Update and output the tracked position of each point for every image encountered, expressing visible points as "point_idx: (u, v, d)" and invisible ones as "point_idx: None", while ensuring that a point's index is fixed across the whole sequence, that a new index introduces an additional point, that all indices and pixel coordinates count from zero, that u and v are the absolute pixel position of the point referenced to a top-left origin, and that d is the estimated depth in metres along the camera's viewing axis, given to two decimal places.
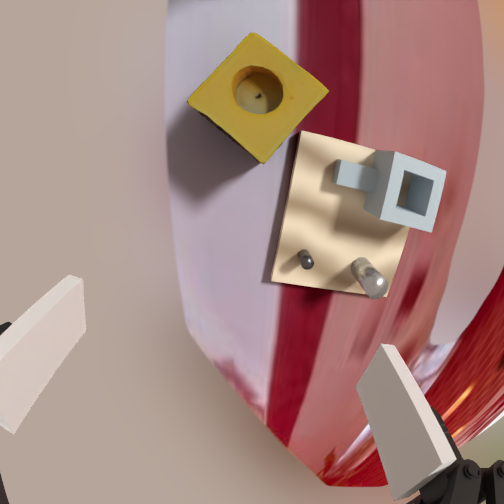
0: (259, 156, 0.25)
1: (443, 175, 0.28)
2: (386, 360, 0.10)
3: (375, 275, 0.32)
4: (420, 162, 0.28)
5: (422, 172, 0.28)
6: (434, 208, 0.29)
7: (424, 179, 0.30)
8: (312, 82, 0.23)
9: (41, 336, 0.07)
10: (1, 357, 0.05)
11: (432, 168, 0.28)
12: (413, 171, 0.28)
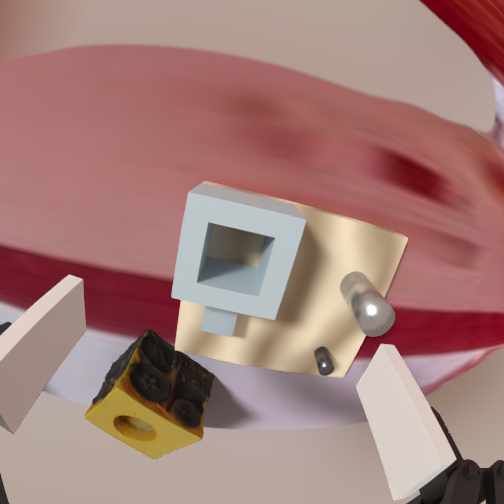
0: (195, 440, 0.23)
1: (196, 199, 0.18)
2: (386, 360, 0.10)
3: (358, 320, 0.21)
4: (180, 252, 0.20)
5: (197, 248, 0.20)
6: (260, 217, 0.19)
7: None
8: (114, 397, 0.22)
9: (41, 336, 0.07)
10: (1, 357, 0.05)
11: (187, 226, 0.19)
12: (197, 266, 0.20)
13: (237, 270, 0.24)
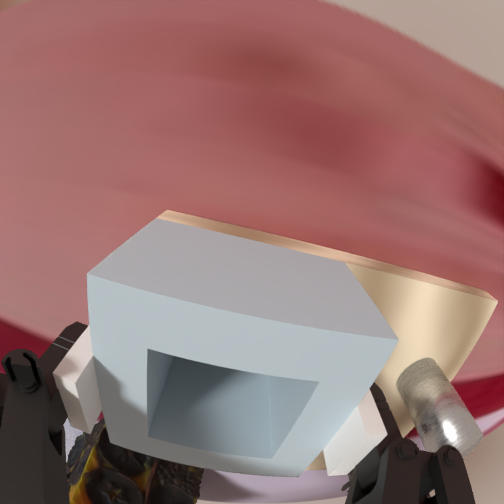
0: None
1: (109, 293, 0.06)
2: None
3: None
4: (103, 392, 0.07)
5: (134, 391, 0.07)
6: (285, 344, 0.07)
7: None
8: None
9: None
10: (89, 356, 0.07)
11: (103, 350, 0.07)
12: (142, 417, 0.08)
13: (231, 382, 0.12)
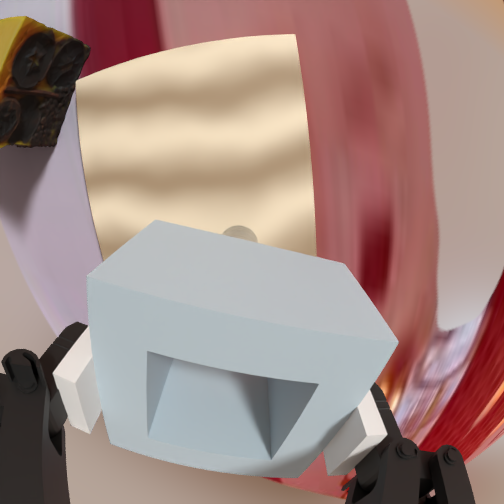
0: None
1: (109, 296, 0.06)
2: None
3: None
4: (103, 393, 0.07)
5: (134, 393, 0.07)
6: (285, 347, 0.07)
7: None
8: (9, 24, 0.08)
9: None
10: (89, 357, 0.07)
11: (103, 352, 0.07)
12: (142, 418, 0.08)
13: (230, 383, 0.12)
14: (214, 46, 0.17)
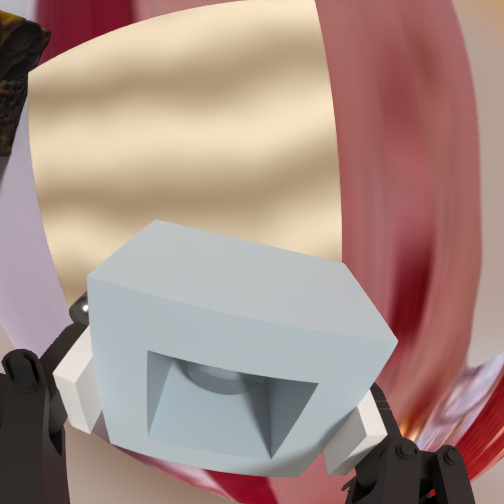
0: None
1: (109, 295, 0.06)
2: None
3: None
4: (103, 393, 0.07)
5: (134, 392, 0.07)
6: (285, 346, 0.07)
7: None
8: None
9: None
10: (89, 357, 0.07)
11: (103, 351, 0.07)
12: (142, 418, 0.08)
13: None
14: (201, 13, 0.11)
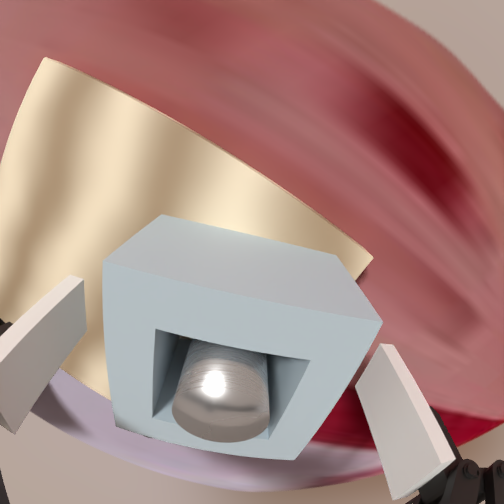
0: None
1: (122, 278, 0.07)
2: (385, 359, 0.10)
3: (175, 394, 0.08)
4: (112, 373, 0.08)
5: (141, 371, 0.08)
6: (278, 323, 0.07)
7: None
8: None
9: (42, 336, 0.07)
10: (2, 357, 0.05)
11: (114, 331, 0.08)
12: (147, 397, 0.09)
13: None
14: (7, 158, 0.11)
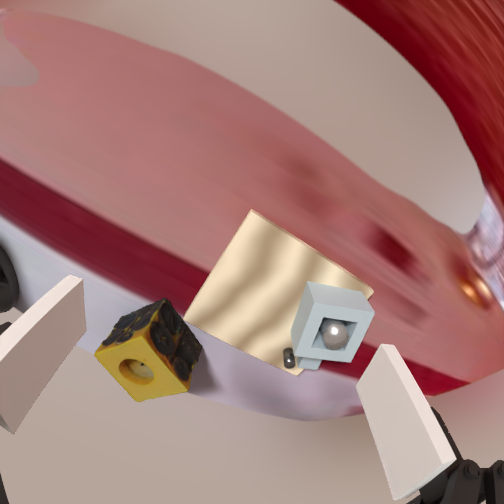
0: (182, 390, 0.33)
1: (318, 305, 0.31)
2: (386, 360, 0.10)
3: (324, 335, 0.32)
4: (304, 332, 0.33)
5: (314, 330, 0.33)
6: (351, 313, 0.32)
7: None
8: (134, 343, 0.31)
9: (41, 336, 0.07)
10: (1, 357, 0.05)
11: (311, 319, 0.32)
12: (313, 339, 0.33)
13: None
14: (228, 254, 0.36)
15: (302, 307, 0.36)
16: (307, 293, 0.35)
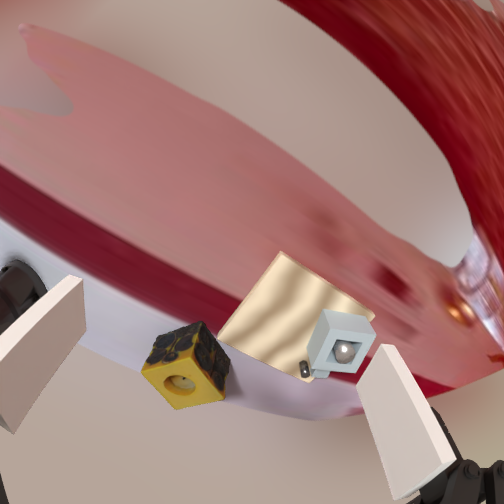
0: (219, 399, 0.40)
1: (333, 330, 0.39)
2: (386, 360, 0.10)
3: (336, 352, 0.40)
4: (321, 351, 0.40)
5: (329, 349, 0.40)
6: (358, 336, 0.39)
7: None
8: (182, 363, 0.38)
9: (41, 336, 0.07)
10: (1, 357, 0.05)
11: (327, 341, 0.40)
12: (327, 355, 0.41)
13: None
14: (260, 287, 0.43)
15: (318, 330, 0.43)
16: (323, 319, 0.42)
